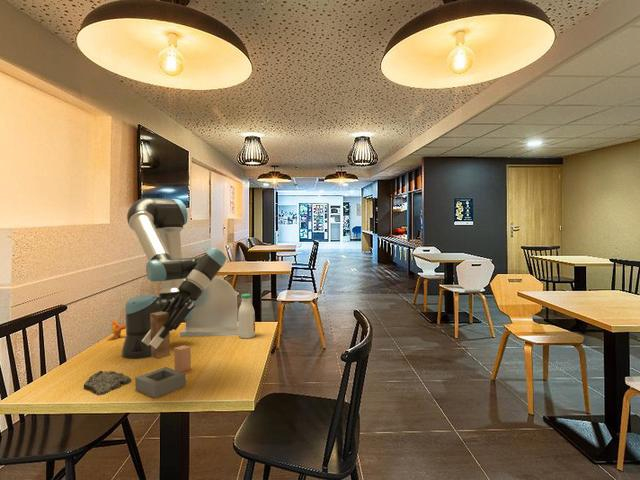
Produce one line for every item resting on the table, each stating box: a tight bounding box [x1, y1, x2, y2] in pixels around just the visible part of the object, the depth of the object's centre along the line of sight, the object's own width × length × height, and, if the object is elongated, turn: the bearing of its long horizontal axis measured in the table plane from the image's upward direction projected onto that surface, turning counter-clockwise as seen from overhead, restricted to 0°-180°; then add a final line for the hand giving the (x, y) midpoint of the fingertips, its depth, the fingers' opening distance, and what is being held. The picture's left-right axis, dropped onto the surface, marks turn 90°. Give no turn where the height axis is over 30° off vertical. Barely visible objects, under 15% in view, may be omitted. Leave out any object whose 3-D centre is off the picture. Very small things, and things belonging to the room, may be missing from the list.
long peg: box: [150, 311, 171, 360], centre depth 125 cm, size 4×4×14 cm
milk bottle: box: [237, 293, 256, 339], centre depth 182 cm, size 8×8×20 cm
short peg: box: [173, 345, 192, 373], centre depth 142 cm, size 4×4×8 cm
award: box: [179, 276, 239, 338], centre depth 187 cm, size 28×9×28 cm, turn 94°
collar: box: [134, 366, 187, 399], centre depth 126 cm, size 11×11×4 cm
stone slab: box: [83, 370, 132, 396], centre depth 130 cm, size 12×17×3 cm
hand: (148, 344), depth 122 cm, fingers closed on long peg, 4 cm apart
